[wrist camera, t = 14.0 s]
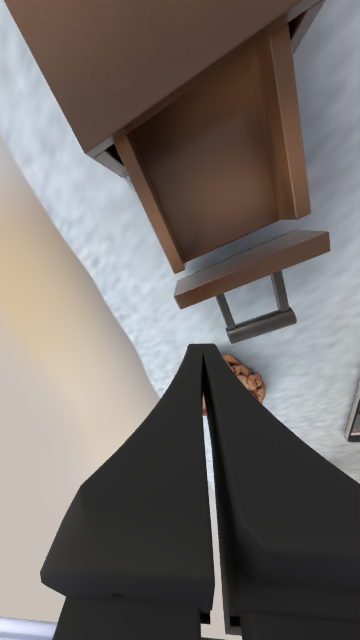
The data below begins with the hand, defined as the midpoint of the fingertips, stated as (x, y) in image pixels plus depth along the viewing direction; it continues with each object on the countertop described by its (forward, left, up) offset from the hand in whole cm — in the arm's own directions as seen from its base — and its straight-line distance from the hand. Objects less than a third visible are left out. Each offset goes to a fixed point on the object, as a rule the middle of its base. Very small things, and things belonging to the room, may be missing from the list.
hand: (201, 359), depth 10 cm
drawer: (+5, -4, -8) cm, 11 cm away
